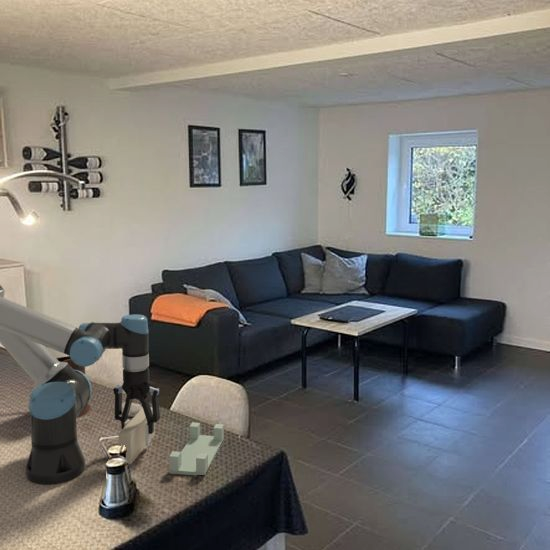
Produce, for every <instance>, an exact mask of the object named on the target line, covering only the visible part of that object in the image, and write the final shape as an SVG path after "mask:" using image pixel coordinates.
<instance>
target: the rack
mask: <svg viewBox="0 0 550 550" xmlns="http://www.w3.org/2000/svg"><path fill="white" fill-rule="evenodd" d="M223 440H224V441H225V424H222V423H215V425H214V427H213V435H206V434H201V422H196V421H195V422H193V421H192V422H191V423H190V425H189V439H188V441H187V442H186V443H185V445H184V446H183V448H182V450H181V451H177V450H173V451H171V453H170V455H169V456H168V460H169V461H168V462H169V463H168V464H169V465H168V467H169V469H168V470H169V471H168V472H169V474H172V475H174V474H175V475H184V476H185V475H186V476H187V475H188V476H197V475H205V474H206V472H207V470H208V468H209V466H210V464H211V462H212V461H213V462H214V460H215V458H216V456H217V454H218V452H219V450H220V448H221V446H222V445H221V443H222V441H223ZM224 441H223V442H224ZM222 444H223V443H222ZM220 445H221V446H220ZM219 447H220V448H219ZM218 449H219V450H218ZM217 451H218V452H217ZM216 453H217V454H216ZM215 455H216V456H215ZM214 457H215V458H214ZM213 459H214V460H213ZM213 462H212V463H213ZM211 465H212V464H211ZM210 467H211V466H210ZM209 469H210V468H209ZM208 471H209V470H208ZM207 473H208V472H207ZM206 475H207V474H206Z"/></svg>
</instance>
